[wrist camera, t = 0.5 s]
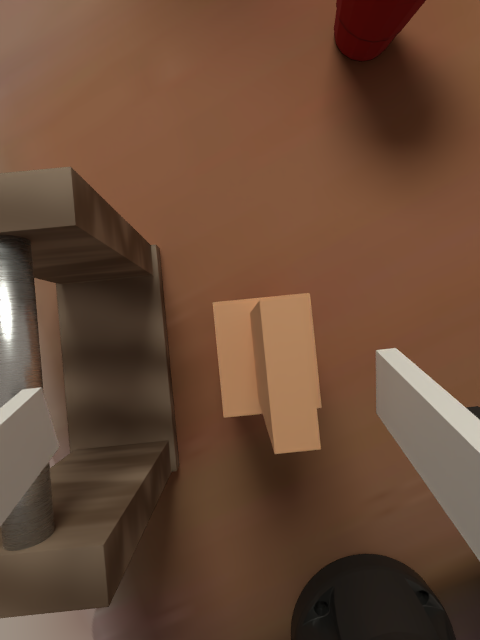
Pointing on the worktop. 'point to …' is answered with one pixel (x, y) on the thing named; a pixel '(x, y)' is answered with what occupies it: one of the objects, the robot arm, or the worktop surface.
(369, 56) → the plastic cup
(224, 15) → the worktop surface
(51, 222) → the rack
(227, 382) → the tan joined planks
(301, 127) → the worktop surface
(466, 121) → the worktop surface
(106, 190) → the worktop surface
